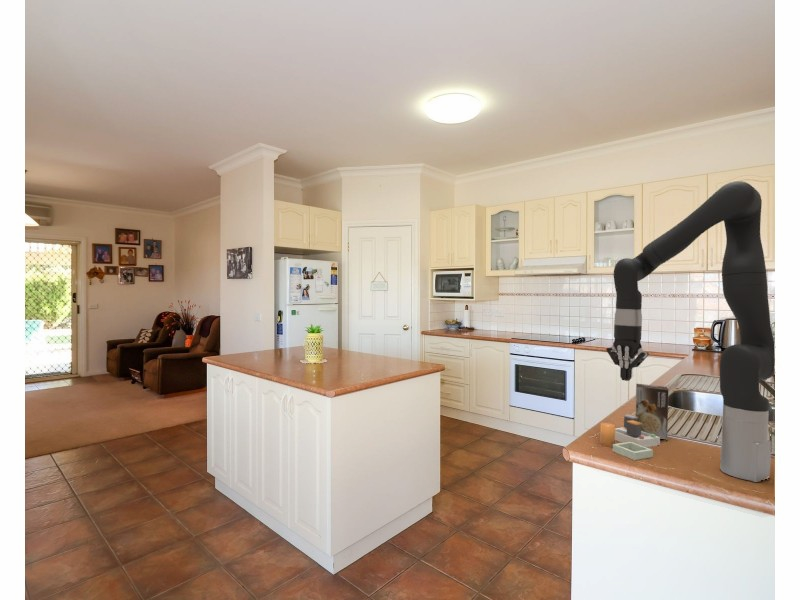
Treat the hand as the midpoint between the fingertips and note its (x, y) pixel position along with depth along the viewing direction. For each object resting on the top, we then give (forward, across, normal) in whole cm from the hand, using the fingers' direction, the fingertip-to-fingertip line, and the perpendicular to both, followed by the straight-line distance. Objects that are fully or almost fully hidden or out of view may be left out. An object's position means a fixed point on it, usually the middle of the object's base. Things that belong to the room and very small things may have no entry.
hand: (625, 380), depth 137 cm
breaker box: (+19, -1, -3) cm, 19 cm away
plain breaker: (+16, +1, -6) cm, 17 cm away
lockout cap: (+19, 0, +7) cm, 20 cm away
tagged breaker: (+16, -3, 0) cm, 16 cm away
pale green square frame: (+19, -8, +8) cm, 22 cm away
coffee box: (+19, 0, -14) cm, 24 cm away
